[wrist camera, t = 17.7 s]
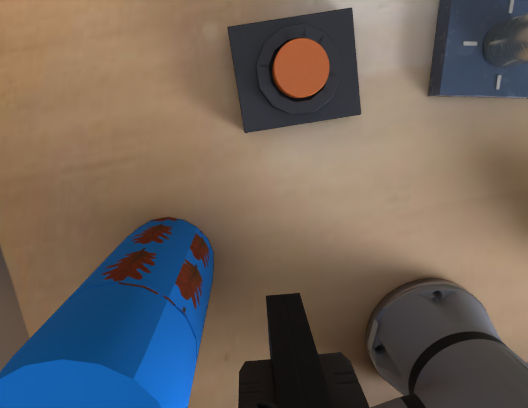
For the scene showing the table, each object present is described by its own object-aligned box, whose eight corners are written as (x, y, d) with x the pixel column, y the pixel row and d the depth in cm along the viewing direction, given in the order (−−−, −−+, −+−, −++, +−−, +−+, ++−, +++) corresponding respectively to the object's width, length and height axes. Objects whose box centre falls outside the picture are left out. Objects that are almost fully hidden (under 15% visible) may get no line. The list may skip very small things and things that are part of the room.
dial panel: (551, 0, 38) (573, -9, 36) (532, 98, 41) (551, 97, 38) (440, -5, 38) (454, -14, 35) (427, 96, 40) (440, 95, 38)
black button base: (343, 16, 38) (357, 1, 33) (352, 114, 40) (366, 114, 35) (228, 33, 38) (226, 22, 33) (244, 131, 40) (244, 133, 35)
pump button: (321, 38, 34) (326, 33, 32) (327, 93, 35) (332, 92, 33) (268, 46, 34) (270, 42, 32) (276, 101, 35) (278, 101, 33)
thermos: (120, 215, 42) (-54, 357, 18) (214, 215, 42) (172, 353, 18) (127, 301, 44) (-16, 528, 20) (215, 300, 45) (180, 521, 21)
